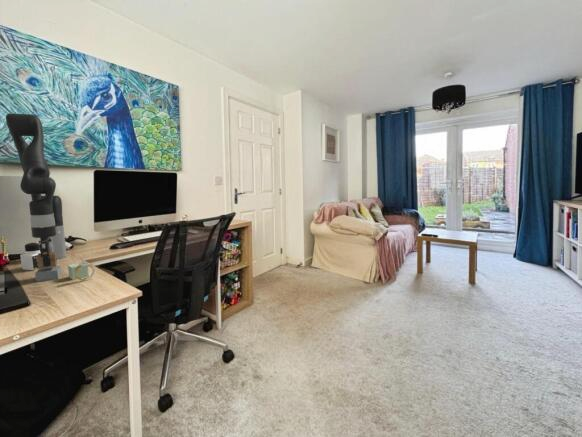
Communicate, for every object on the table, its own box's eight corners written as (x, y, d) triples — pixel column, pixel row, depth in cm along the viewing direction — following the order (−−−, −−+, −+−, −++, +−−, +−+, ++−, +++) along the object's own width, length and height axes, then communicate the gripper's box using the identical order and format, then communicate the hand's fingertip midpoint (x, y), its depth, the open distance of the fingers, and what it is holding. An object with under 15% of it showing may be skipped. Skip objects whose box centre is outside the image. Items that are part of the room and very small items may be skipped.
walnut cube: (40, 265, 116) (38, 253, 115) (57, 263, 119) (55, 251, 118) (38, 269, 111) (37, 256, 111) (56, 266, 115) (54, 253, 114)
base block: (40, 277, 117) (39, 268, 117) (61, 274, 121) (60, 265, 120) (36, 282, 111) (35, 273, 111) (58, 279, 115) (57, 270, 114)
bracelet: (75, 283, 110) (73, 264, 109) (74, 281, 112) (72, 262, 111) (96, 279, 114) (94, 261, 113) (94, 277, 117) (93, 259, 116)
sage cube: (69, 277, 117) (67, 265, 116) (84, 274, 121) (83, 262, 120) (73, 280, 113) (71, 267, 113) (88, 276, 118) (87, 264, 117)
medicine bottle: (33, 270, 124) (30, 245, 123) (21, 269, 126) (18, 244, 124) (50, 266, 131) (47, 241, 130) (38, 265, 133) (35, 241, 131)
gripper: (33, 223, 116) (37, 261, 118) (28, 228, 105) (33, 270, 107) (56, 222, 121) (60, 259, 123) (53, 226, 109) (58, 267, 112)
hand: (47, 264), depth 115 cm, fingers closed on walnut cube, 5 cm apart
